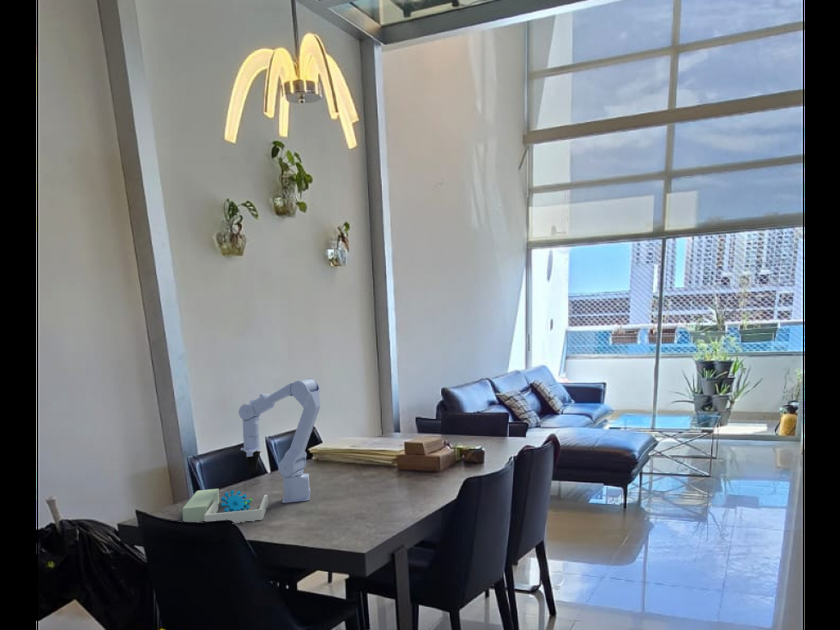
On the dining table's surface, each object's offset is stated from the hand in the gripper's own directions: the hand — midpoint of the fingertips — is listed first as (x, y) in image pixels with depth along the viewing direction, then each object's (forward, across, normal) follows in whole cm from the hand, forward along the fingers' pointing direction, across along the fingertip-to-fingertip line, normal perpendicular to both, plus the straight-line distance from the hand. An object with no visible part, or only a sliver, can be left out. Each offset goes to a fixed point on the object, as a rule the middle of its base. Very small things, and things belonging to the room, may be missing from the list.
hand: (253, 472), depth 220 cm
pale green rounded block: (+9, +13, -16) cm, 23 cm away
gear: (+10, +18, -3) cm, 21 cm away
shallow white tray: (+9, +20, -3) cm, 22 cm away
